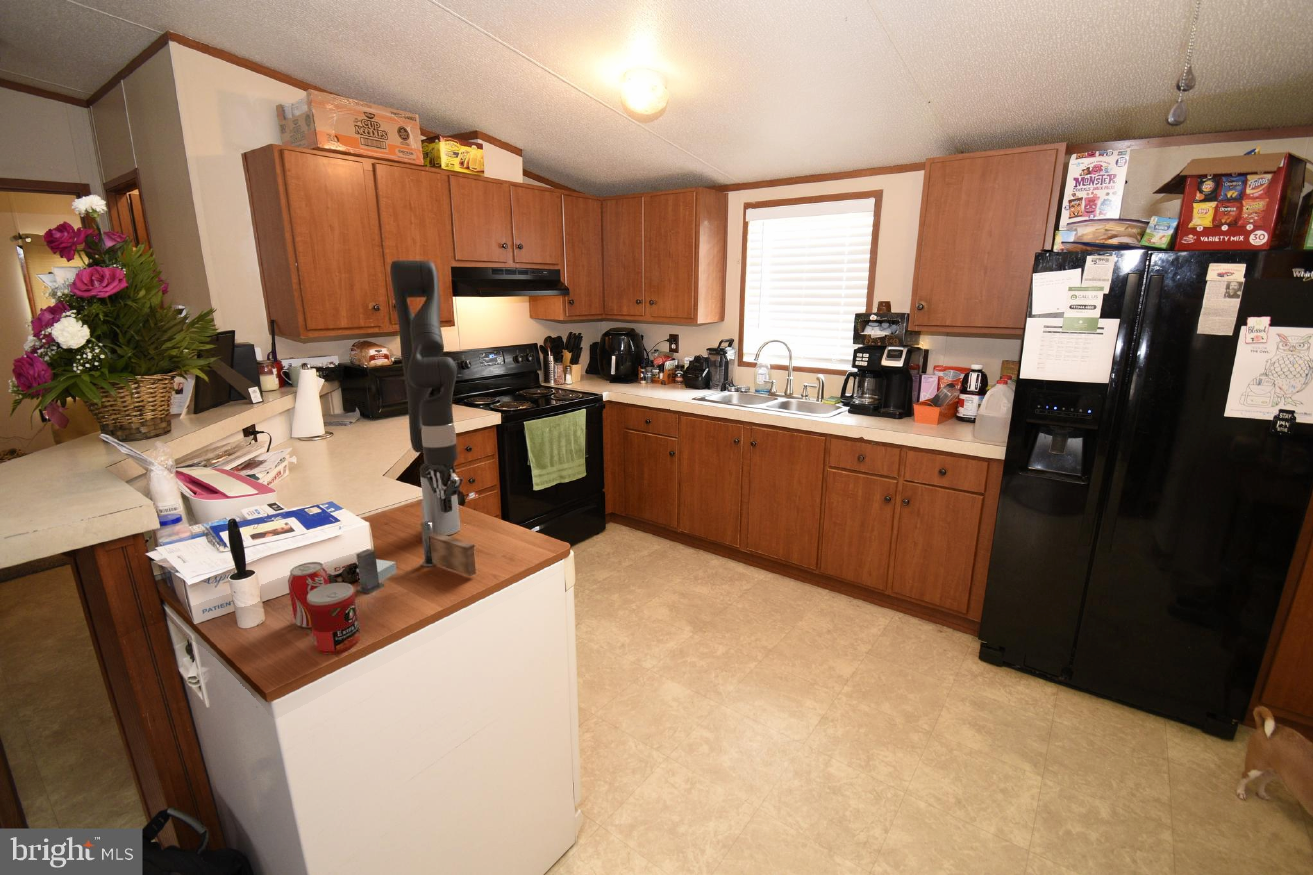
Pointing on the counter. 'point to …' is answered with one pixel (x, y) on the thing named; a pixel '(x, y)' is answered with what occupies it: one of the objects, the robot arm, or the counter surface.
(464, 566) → the gate
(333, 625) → the canned food
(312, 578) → the soda can
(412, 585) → the counter surface
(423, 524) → the hinge post
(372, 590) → the post
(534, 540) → the counter surface
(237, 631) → the counter surface
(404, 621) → the counter surface
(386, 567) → the block
